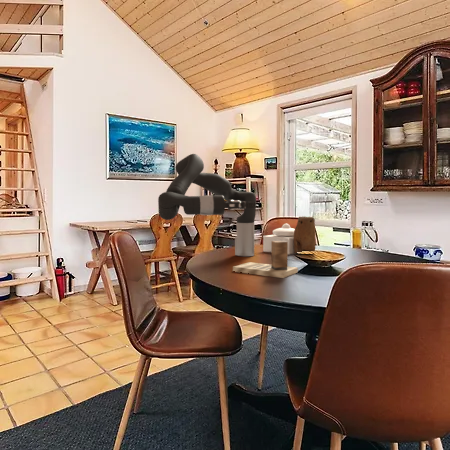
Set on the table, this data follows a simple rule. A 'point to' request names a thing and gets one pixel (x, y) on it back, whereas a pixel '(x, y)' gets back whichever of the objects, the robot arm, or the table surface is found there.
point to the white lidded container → (280, 238)
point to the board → (264, 270)
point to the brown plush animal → (304, 235)
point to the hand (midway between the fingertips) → (252, 204)
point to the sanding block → (279, 255)
